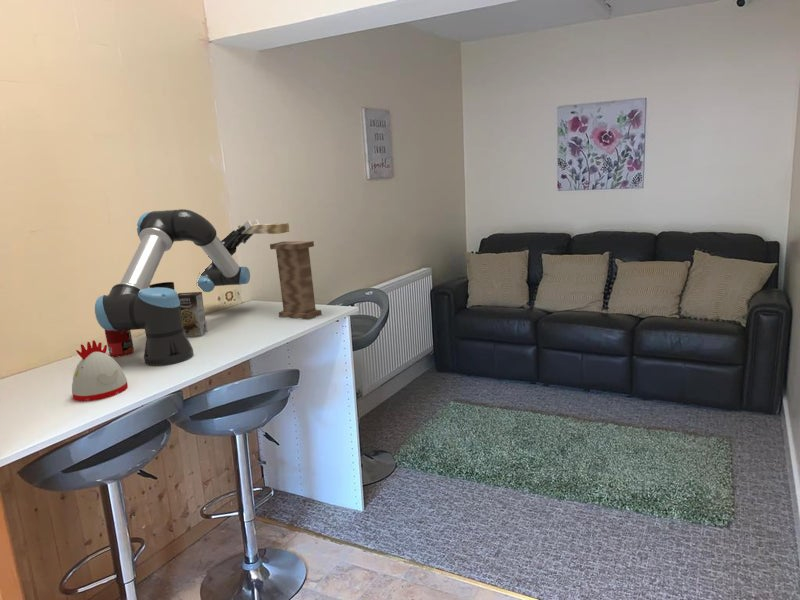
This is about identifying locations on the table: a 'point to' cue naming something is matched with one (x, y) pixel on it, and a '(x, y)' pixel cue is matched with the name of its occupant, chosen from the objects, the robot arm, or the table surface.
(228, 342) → the table surface
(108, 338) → the canned food
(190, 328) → the coffee box
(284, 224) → the handle
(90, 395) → the kitchen timer
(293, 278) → the pedestal
